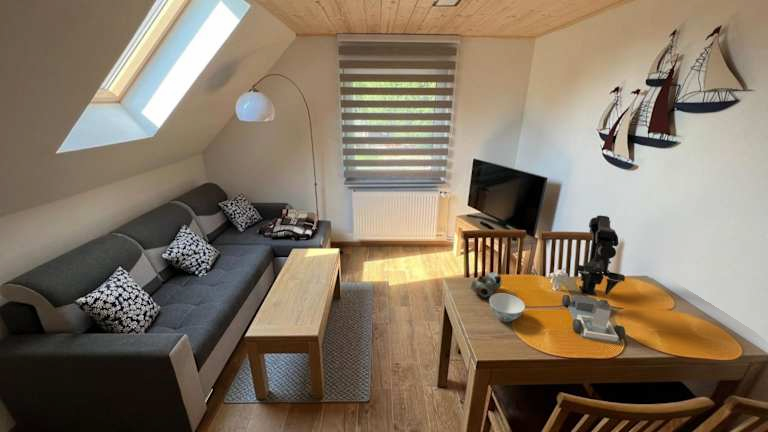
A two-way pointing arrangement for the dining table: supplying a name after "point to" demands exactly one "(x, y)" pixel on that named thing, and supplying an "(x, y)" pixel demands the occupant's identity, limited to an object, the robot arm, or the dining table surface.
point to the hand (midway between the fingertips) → (595, 291)
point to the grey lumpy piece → (487, 284)
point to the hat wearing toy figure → (558, 278)
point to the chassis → (581, 316)
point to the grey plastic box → (599, 317)
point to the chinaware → (506, 306)
